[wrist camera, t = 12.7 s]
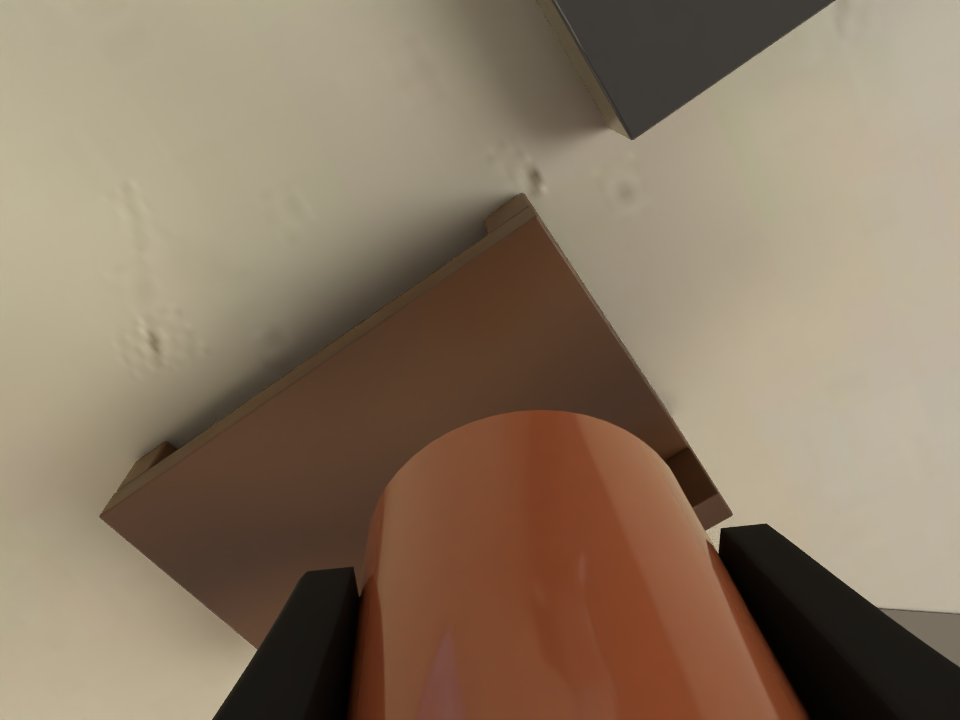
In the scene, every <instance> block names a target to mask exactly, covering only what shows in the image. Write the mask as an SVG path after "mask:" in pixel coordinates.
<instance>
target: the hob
mask: <svg viewBox="0 0 960 720" xmlns="http://www.w3.org/2000/svg"><path fill="white" fill-rule="evenodd" d="M834 1H835V0H536V2H537V4H538V6H539V7H540V9H541V11H542V12H543V14H544V16H545V18H546V19H547V21H548V23H549V25H550V26H551V28H552V30H553V32H554V33H555V35H556V37H557V38H558V40H559V42H560V44H561V45H562V47H563V49H564V51H565V52H566V54H567V56H568V57H569V59H570V61H571V63H572V64H573V66H574V68H575V70H576V71H577V73H578V75H579V77H580V78H581V80H582V82H583V83H584V85H585V87H586V89H587V90H588V92H589V94H590V96H591V97H592V99H593V101H594V102H595V104H596V106H597V108H598V109H599V111H600V113H601V115H602V116H603V118H604V120H605V122H606V123H607V125H608V127H609V128H610V129H612V130H613V131H615V132H617V133H619V134H621V135H623V136H625V137H627V138H628V139H630V140H634V139H636V138H637V137H638V136H640V135H641V134H643V133H644V132H646V131H647V130H649V129H650V128H651V127H653V126H654V125H656V124H657V123H659V122H660V121H662V120H663V119H665V118H666V117H667V116H669V115H670V114H672V113H673V112H675V111H676V110H678V109H679V108H680V107H682V106H683V105H685V104H686V103H688V102H689V101H691V100H692V99H693V98H695V97H696V96H698V95H699V94H701V93H702V92H704V91H705V90H707V89H708V88H709V87H711V86H712V85H714V84H715V83H717V82H718V81H720V80H721V79H722V78H724V77H725V76H727V75H728V74H730V73H731V72H733V71H734V70H735V69H737V68H738V67H740V66H741V65H743V64H744V63H746V62H747V61H749V60H750V59H751V58H753V57H754V56H756V55H757V54H759V53H760V52H762V51H763V50H764V49H766V48H767V47H769V46H770V45H772V44H773V43H775V42H776V41H777V40H779V39H780V38H782V37H783V36H785V35H786V34H788V33H789V32H791V31H792V30H793V29H795V28H796V27H798V26H799V25H801V24H802V23H804V22H805V21H806V20H808V19H809V18H811V17H812V16H814V15H815V14H817V13H818V12H819V11H821V10H822V9H824V8H825V7H827V6H828V5H830V4H831V3H833V2H834Z"/></svg>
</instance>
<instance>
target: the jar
mask: <svg viewBox="0 0 960 720" xmlns="http://www.w3.org/2000/svg"><path fill="white" fill-rule="evenodd" d="M345 720H811V719H810V717H809V715H808V713H807V712H806V710H805V708H804V706H803V705H802V703H801V701H800V699H799V697H798V696H797V694H796V692H795V690H794V688H793V687H792V685H791V683H790V681H789V679H788V678H787V676H786V674H785V672H784V670H783V669H782V667H781V665H780V663H779V662H778V660H777V658H776V656H775V654H774V653H773V651H772V649H771V647H770V645H769V644H768V642H767V640H766V638H765V636H764V635H763V633H762V631H761V629H760V627H759V626H758V624H757V622H756V620H755V619H754V617H753V615H752V613H751V611H750V610H749V608H748V606H747V604H746V602H745V601H744V599H743V597H742V595H741V593H740V592H739V590H738V588H737V586H736V584H735V583H734V581H733V579H732V577H731V576H730V574H729V572H728V570H727V568H726V567H725V565H724V563H723V561H722V559H721V558H720V556H719V554H718V552H717V550H716V549H715V547H714V545H713V543H712V541H711V540H710V538H709V536H708V534H707V533H706V531H705V529H704V527H703V525H702V524H701V522H700V520H699V518H698V516H697V515H696V513H695V511H694V509H693V507H692V506H691V504H690V502H689V500H688V498H687V497H686V495H685V493H684V491H683V490H682V488H681V486H680V484H679V482H678V481H677V479H676V477H675V476H674V474H673V473H672V471H671V469H670V468H669V466H668V465H667V464H666V463H665V462H664V461H663V459H662V458H661V457H660V456H659V455H658V454H657V453H656V452H655V451H654V450H653V449H652V448H650V447H649V446H648V445H647V444H646V443H645V442H643V441H642V440H641V439H639V438H637V437H636V436H634V435H633V434H631V433H629V432H628V431H626V430H624V429H622V428H620V427H618V426H616V425H613V424H611V423H609V422H607V421H604V420H601V419H597V418H594V417H591V416H587V415H584V414H578V413H573V412H567V411H558V410H525V411H514V412H509V413H503V414H498V415H493V416H489V417H486V418H483V419H479V420H476V421H473V422H470V423H468V424H465V425H463V426H461V427H459V428H456V429H454V430H452V431H450V432H448V433H446V434H444V435H443V436H441V437H439V438H438V439H436V440H434V441H432V442H431V443H430V444H428V445H427V446H426V447H424V448H423V449H422V450H420V451H419V452H418V453H416V454H415V455H414V456H413V457H412V458H411V459H410V460H409V461H408V462H407V463H406V464H405V465H404V466H403V467H402V468H401V469H400V470H399V471H398V472H397V473H396V474H395V476H394V477H393V478H392V480H391V481H390V482H389V484H388V485H387V486H386V488H385V489H384V491H383V493H382V495H381V497H380V498H379V500H378V502H377V504H376V506H375V509H374V512H373V514H372V517H371V520H370V523H369V528H368V533H367V538H366V546H365V555H364V563H363V572H362V580H361V589H360V597H359V606H358V614H357V623H356V631H355V640H354V648H353V657H352V665H351V674H350V682H349V691H348V699H347V708H346V716H345Z"/></svg>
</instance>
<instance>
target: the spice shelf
mask: <svg viewBox="0 0 960 720" xmlns="http://www.w3.org/2000/svg"><path fill="white" fill-rule="evenodd" d="M484 223H485V226H486V230H487V233H488V235H487V236H486V237H484V238H483V239H482V240H480V241H479V242H477V243H476V244H474V245H473V246H471V247H470V248H468V249H467V250H466V251H464V252H463V253H461V254H460V255H458V256H457V257H455V258H454V259H453V260H451V261H450V262H448V263H447V264H445V265H444V266H442V267H441V268H440V269H438V270H437V271H435V272H434V273H432V274H431V275H429V276H428V277H427V278H425V279H424V280H422V281H421V282H419V283H418V284H416V285H415V286H414V287H412V288H411V289H409V290H408V291H406V292H405V293H403V294H402V295H401V296H399V297H398V298H396V299H395V300H393V301H392V302H390V303H389V304H388V305H386V306H385V307H383V308H382V309H380V310H379V311H377V312H376V313H375V314H373V315H372V316H370V317H369V318H367V319H366V320H364V321H363V322H362V323H360V324H359V325H357V326H356V327H354V328H353V329H351V330H350V331H349V332H347V333H346V334H344V335H343V336H341V337H340V338H338V339H337V340H336V341H334V342H333V343H331V344H330V345H328V346H327V347H325V348H324V349H323V350H321V351H320V352H318V353H317V354H315V355H314V356H312V357H311V358H310V359H308V360H307V361H305V362H304V363H302V364H301V365H299V366H298V367H297V368H295V369H294V370H292V371H291V372H289V373H288V374H286V375H285V376H284V377H282V378H281V379H279V380H278V381H276V382H275V383H273V384H272V385H271V386H269V387H268V388H266V389H265V390H263V391H262V392H260V393H259V394H258V395H256V396H255V397H253V398H252V399H250V400H249V401H247V402H246V403H245V404H243V405H242V406H240V407H239V408H237V409H236V410H234V411H233V412H232V413H230V414H229V415H227V416H226V417H224V418H223V419H221V420H220V421H219V422H217V423H216V424H214V425H213V426H211V427H210V428H208V429H207V430H206V431H204V432H203V433H201V434H200V435H198V436H197V437H195V438H194V439H193V440H191V441H190V442H188V443H187V444H185V445H184V446H182V447H181V448H180V449H178V450H175V449H174V448H173V447H172V446H171V445H170V444H169V443H168V442H164V443H162V444H161V445H160V446H158V447H157V448H155V449H154V450H152V451H151V452H150V453H148V454H147V455H145V456H144V457H142V458H141V459H140V460H138V461H137V462H136V463H135V464H134V466H133V467H132V469H131V470H130V472H129V473H128V475H127V476H126V478H125V479H124V481H123V482H122V484H121V485H120V487H119V488H118V490H117V492H116V493H115V494H114V495H113V496H112V498H111V499H110V501H109V502H108V504H107V505H106V507H105V508H104V510H103V511H102V513H101V514H100V516H99V517H100V518H101V519H102V520H103V521H104V522H106V523H107V524H108V525H109V526H110V527H111V528H113V529H114V530H115V531H116V532H117V533H119V534H120V535H121V536H122V537H123V538H125V539H126V540H127V541H128V542H129V543H131V544H132V545H133V546H134V547H135V548H137V549H138V550H139V551H140V552H141V553H143V554H144V555H145V556H146V557H147V558H149V559H150V560H151V561H152V562H153V563H155V564H156V565H157V566H158V567H159V568H161V569H162V570H163V571H164V572H165V573H167V574H168V575H169V576H170V577H171V578H173V579H174V580H175V581H176V582H177V583H179V584H180V585H181V586H182V587H183V588H185V589H186V590H187V591H188V592H189V593H191V594H192V595H193V596H194V597H195V598H196V599H198V600H199V601H200V602H201V603H202V604H204V605H205V606H206V607H207V608H208V609H210V610H211V611H212V612H213V613H214V614H216V615H217V616H218V617H219V618H220V619H222V620H223V621H224V622H225V623H226V624H228V625H229V626H230V627H231V628H232V629H234V630H235V631H236V632H237V633H238V634H240V635H241V636H242V637H243V638H244V639H246V640H247V641H248V642H249V643H250V644H252V645H253V646H254V647H255V648H256V649H259V647H260V645H261V644H262V642H263V641H264V639H265V637H266V636H267V634H268V632H269V631H270V629H271V627H272V626H273V624H274V622H275V621H276V619H277V617H278V616H279V614H280V612H281V611H282V609H283V607H284V605H285V604H286V602H287V600H288V599H289V597H290V595H291V593H292V592H293V590H294V588H295V586H296V584H297V583H298V581H299V579H300V578H301V577H302V576H303V575H304V574H305V573H306V572H307V571H315V570H324V569H334V568H344V567H354V572H355V577H356V583H357V588H358V593H359V597H360V589H361V580H362V572H363V563H364V555H365V546H366V538H367V533H368V528H369V523H370V520H371V517H372V514H373V512H374V509H375V506H376V504H377V502H378V500H379V498H380V497H381V495H382V493H383V491H384V489H385V488H386V486H387V485H388V484H389V482H390V481H391V480H392V478H393V477H394V476H395V474H396V473H397V472H398V471H399V470H400V469H401V468H402V467H403V466H404V465H405V464H406V463H407V462H408V461H409V460H410V459H411V458H412V457H413V456H414V455H415V454H416V453H418V452H419V451H420V450H422V449H423V448H424V447H426V446H427V445H428V444H430V443H431V442H432V441H434V440H436V439H438V438H439V437H441V436H443V435H444V434H446V433H448V432H450V431H452V430H454V429H456V428H459V427H461V426H463V425H465V424H468V423H470V422H473V421H476V420H479V419H483V418H486V417H489V416H493V415H498V414H503V413H509V412H514V411H525V410H558V411H567V412H573V413H578V414H584V415H587V416H591V417H594V418H597V419H601V420H604V421H607V422H609V423H611V424H613V425H616V426H618V427H620V428H622V429H624V430H626V431H628V432H629V433H631V434H633V435H634V436H636V437H637V438H639V439H641V440H642V441H643V442H645V443H646V444H647V445H648V446H649V447H650V448H652V449H653V450H654V451H655V452H656V453H657V454H658V455H659V456H660V457H661V458H662V459H663V461H664V462H665V463H666V464H667V465H668V466H669V468H670V469H671V471H672V473H673V474H674V476H675V477H676V479H677V481H678V482H679V484H680V486H681V488H682V490H683V491H684V493H685V495H686V497H687V498H688V500H689V502H690V504H691V506H692V507H693V509H694V511H695V513H696V515H697V516H698V518H699V520H700V522H701V524H702V525H703V527H704V529H705V531H706V530H707V529H709V528H711V527H713V526H715V525H716V524H718V523H720V522H722V521H723V520H725V519H727V518H729V517H731V516H732V515H733V514H732V511H731V510H730V508H729V507H728V505H727V504H726V502H725V500H724V499H723V497H722V496H721V494H720V492H719V491H718V489H717V488H716V486H715V485H714V483H713V481H712V480H711V478H710V477H709V475H708V474H707V472H706V470H705V469H704V467H703V466H702V464H701V463H700V461H699V459H698V458H697V456H696V455H695V453H694V452H693V450H692V448H691V447H690V445H689V444H688V442H687V441H686V439H685V437H684V436H683V434H682V433H681V431H680V430H679V428H678V426H677V425H676V423H675V422H674V420H673V419H672V417H671V415H670V414H669V412H668V411H667V409H666V408H665V406H664V405H663V403H662V402H661V400H660V399H659V397H658V396H657V394H656V393H655V391H654V390H653V388H652V387H651V385H650V384H649V382H648V381H647V379H646V378H645V376H644V375H643V373H642V371H641V370H640V368H639V367H638V365H637V364H636V362H635V361H634V359H633V358H632V356H631V355H630V353H629V352H628V350H627V349H626V347H625V346H624V344H623V343H622V341H621V340H620V338H619V337H618V335H617V334H616V332H615V331H614V329H613V327H612V326H611V324H610V323H609V321H608V320H607V318H606V317H605V315H604V314H603V312H602V311H601V309H600V308H599V306H598V305H597V303H596V302H595V300H594V299H593V297H592V296H591V294H590V293H589V291H588V290H587V288H586V287H585V285H584V283H583V282H582V280H581V279H580V277H579V276H578V274H577V273H576V271H575V270H574V268H573V267H572V265H571V264H570V262H569V261H568V259H567V258H566V256H565V255H564V253H563V252H562V250H561V249H560V247H559V246H558V244H557V243H556V241H555V239H554V238H553V236H552V235H551V233H550V232H549V230H548V229H547V227H546V226H545V224H544V223H543V221H542V220H541V218H540V217H539V215H538V214H537V212H536V211H535V209H534V208H533V206H532V205H531V203H530V202H529V200H528V199H527V197H526V195H525V194H523V193H520V194H519V195H517V196H516V197H515V198H513V199H512V200H510V201H509V202H507V203H506V204H505V205H503V206H502V207H500V208H499V209H497V210H496V211H495V212H493V213H492V214H490V215H489V216H487V217H486V218H485V219H484Z"/></svg>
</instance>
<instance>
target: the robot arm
mask: <svg viewBox="0 0 960 720" xmlns="http://www.w3.org/2000/svg"><path fill="white" fill-rule="evenodd" d="M719 556H720V558H721V559H722V561H723V563H724V565H725V567H726V568H727V570H728V572H729V574H730V576H731V577H732V579H733V581H734V583H735V584H736V586H737V588H738V590H739V592H740V593H741V595H742V597H743V599H744V601H745V602H746V604H747V606H748V608H749V610H750V611H751V613H752V615H753V617H754V619H755V620H756V622H757V624H758V626H759V627H760V629H761V631H762V633H763V635H764V636H765V638H766V640H767V642H768V644H769V645H770V647H771V649H772V651H773V653H774V654H775V656H776V658H777V660H778V662H779V663H780V665H781V667H782V669H783V670H784V672H785V674H786V676H787V678H788V679H789V681H790V683H791V685H792V687H793V688H794V690H795V692H796V694H797V696H798V697H799V699H800V701H801V703H802V705H803V706H804V708H805V710H806V712H807V713H808V715H809V717H810V719H811V720H960V667H959V666H957V665H956V664H955V663H953V662H952V661H950V660H949V659H947V658H946V657H945V656H943V655H942V654H940V653H939V652H937V651H936V650H935V649H933V648H932V647H930V646H929V645H927V644H926V643H925V642H923V641H922V640H920V639H919V638H918V637H916V636H915V635H913V634H912V633H911V632H909V631H908V630H907V629H905V628H904V627H902V626H901V625H900V624H898V623H897V622H896V621H894V620H893V619H892V618H890V617H889V616H887V615H886V614H885V613H883V612H882V611H881V610H879V609H878V608H877V607H875V606H874V605H873V604H871V603H870V602H869V601H867V600H866V599H865V598H863V597H862V596H861V595H859V594H858V593H857V592H855V591H854V590H853V589H852V588H850V587H849V586H848V585H846V584H845V583H844V582H842V581H841V580H840V579H838V578H837V577H836V576H835V575H833V574H832V573H831V572H829V571H828V570H827V569H825V568H824V567H823V566H821V565H820V564H819V563H818V562H816V561H815V560H814V559H812V558H811V557H810V556H809V555H807V554H806V553H805V552H803V551H802V550H801V549H799V548H798V547H797V546H796V545H794V544H793V543H792V542H790V541H789V540H788V539H786V538H785V537H784V536H782V535H781V534H780V533H778V532H777V531H776V530H774V529H773V528H772V527H770V526H769V525H768V524H758V525H748V526H739V527H729V528H721V533H720V544H719ZM358 606H359V593H358V588H357V583H356V577H355V572H354V567H344V568H334V569H324V570H315V571H307V572H306V573H305V574H304V575H303V576H302V577H301V578H300V579H299V581H298V583H297V584H296V586H295V588H294V590H293V592H292V593H291V595H290V597H289V599H288V600H287V602H286V604H285V605H284V607H283V609H282V611H281V612H280V614H279V616H278V617H277V619H276V621H275V622H274V624H273V626H272V627H271V629H270V631H269V632H268V634H267V636H266V637H265V639H264V641H263V642H262V644H261V645H260V647H259V649H258V650H257V652H256V654H255V655H254V657H253V658H252V660H251V662H250V663H249V665H248V666H247V668H246V669H245V671H244V672H243V674H242V675H241V677H240V678H239V680H238V681H237V683H236V684H235V686H234V687H233V689H232V691H231V692H230V694H229V695H228V697H227V698H226V700H225V701H224V703H223V704H222V706H221V707H220V709H219V710H218V712H217V713H216V715H215V716H214V718H213V719H212V720H345V716H346V708H347V699H348V691H349V682H350V674H351V665H352V657H353V648H354V640H355V631H356V623H357V614H358Z"/></svg>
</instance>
